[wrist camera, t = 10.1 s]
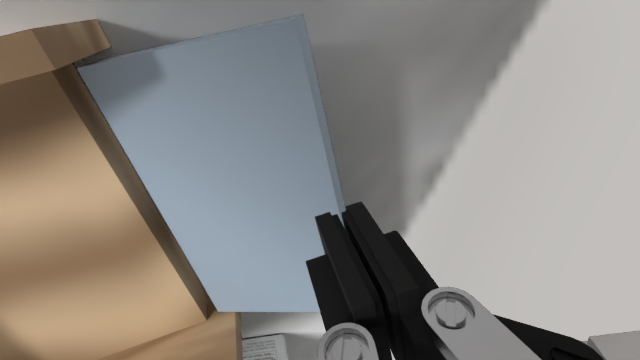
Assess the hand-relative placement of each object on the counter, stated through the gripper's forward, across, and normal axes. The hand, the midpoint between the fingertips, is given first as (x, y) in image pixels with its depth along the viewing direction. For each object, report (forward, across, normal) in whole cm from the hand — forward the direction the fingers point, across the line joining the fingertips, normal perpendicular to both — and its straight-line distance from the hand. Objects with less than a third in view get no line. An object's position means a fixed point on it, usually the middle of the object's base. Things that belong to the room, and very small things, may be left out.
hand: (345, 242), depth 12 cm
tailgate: (+6, +7, 0) cm, 9 cm away
